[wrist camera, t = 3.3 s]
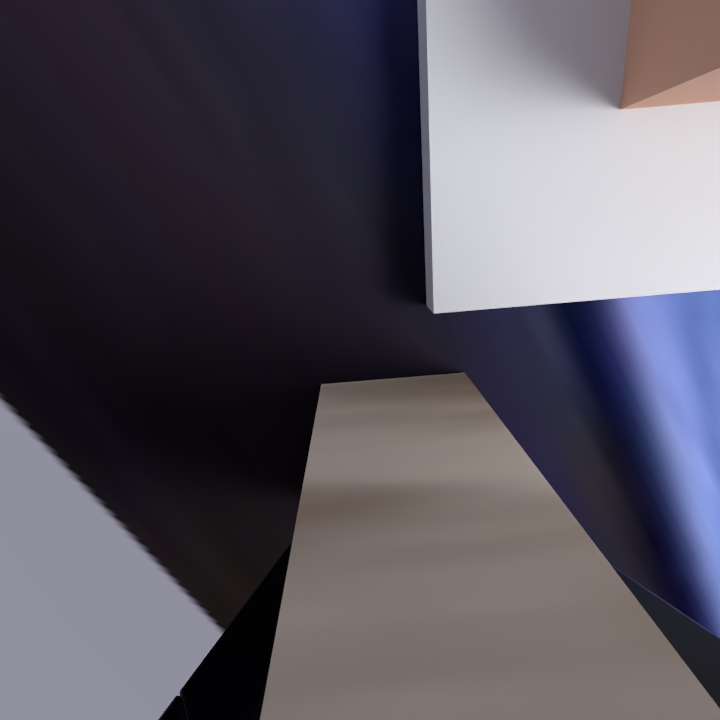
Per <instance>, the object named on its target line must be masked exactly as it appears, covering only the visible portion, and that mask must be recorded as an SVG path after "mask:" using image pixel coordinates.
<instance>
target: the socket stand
mask: <svg viewBox="0 0 720 720" xmlns="http://www.w3.org/2000/svg"><path fill="white" fill-rule="evenodd" d="M417 7H418V41H419V74H420V107H421V141H422V174H423V207H424V241H425V274H426V306H427V307H428V308H429V309H430V310H431V311H432V312H433V313H446V312H458V311H470V310H482V309H494V308H506V307H518V306H530V305H542V304H554V303H566V302H578V301H590V300H602V299H614V298H625V297H637V296H649V295H661V294H673V293H685V292H697V291H709V290H720V0H417Z"/></svg>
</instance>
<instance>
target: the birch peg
mask: <svg viewBox="0 0 720 720" xmlns="http://www.w3.org/2000/svg"><path fill="white" fill-rule="evenodd" d="M260 720H720V708H719V707H718V706H717V704H716V703H715V702H714V700H713V699H712V698H711V696H710V695H709V694H708V692H707V691H706V690H705V689H704V687H703V686H702V685H701V683H700V682H699V681H698V679H697V678H696V677H695V675H694V674H693V673H692V671H691V670H690V669H689V667H688V666H687V665H686V664H685V662H684V661H683V660H682V658H681V657H680V656H679V654H678V653H677V652H676V650H675V649H674V648H673V646H672V645H671V644H670V642H669V641H668V640H667V638H666V637H665V636H664V635H663V633H662V632H661V631H660V629H659V628H658V627H657V625H656V624H655V623H654V621H653V620H652V619H651V617H650V616H649V615H648V613H647V612H646V611H645V610H644V608H643V607H642V606H641V604H640V603H639V602H638V600H637V599H636V598H635V596H634V595H633V594H632V592H631V591H630V590H629V588H628V587H627V586H626V585H625V583H624V582H623V581H622V579H621V578H620V577H619V575H618V574H617V573H616V571H615V570H614V569H613V567H612V566H611V565H610V563H609V562H608V561H607V559H606V558H605V557H604V556H603V554H602V553H601V552H600V550H599V549H598V548H597V546H596V545H595V544H594V542H593V541H592V540H591V538H590V537H589V536H588V534H587V533H586V532H585V531H584V529H583V528H582V527H581V525H580V524H579V523H578V521H577V520H576V519H575V517H574V516H573V515H572V513H571V512H570V511H569V509H568V508H567V507H566V505H565V504H564V503H563V502H562V500H561V499H560V498H559V496H558V495H557V494H556V492H555V491H554V490H553V488H552V487H551V486H550V484H549V483H548V482H547V480H546V479H545V478H544V477H543V475H542V474H541V473H540V471H539V470H538V469H537V467H536V466H535V465H534V463H533V462H532V461H531V459H530V458H529V457H528V455H527V454H526V453H525V452H524V450H523V449H522V448H521V446H520V445H519V444H518V442H517V441H516V440H515V438H514V437H513V436H512V434H511V433H510V432H509V430H508V429H507V428H506V426H505V425H504V424H503V423H502V421H501V420H500V419H499V417H498V416H497V415H496V413H495V412H494V411H493V409H492V408H491V407H490V405H489V404H488V403H487V401H486V400H485V399H484V398H483V396H482V395H481V394H480V392H479V391H478V390H477V388H476V387H475V386H474V384H473V383H472V382H471V380H470V379H469V378H468V376H467V375H466V374H465V373H452V374H440V375H428V376H416V377H404V378H391V379H379V380H367V381H355V382H343V383H331V384H321V388H320V394H319V399H318V405H317V410H316V416H315V421H314V427H313V432H312V437H311V443H310V448H309V454H308V459H307V465H306V470H305V476H304V481H303V487H302V492H301V498H300V503H299V509H298V514H297V519H296V525H295V530H294V536H293V541H292V547H291V552H290V558H289V563H288V569H287V574H286V580H285V585H284V591H283V596H282V602H281V607H280V612H279V618H278V623H277V629H276V634H275V640H274V645H273V651H272V656H271V662H270V667H269V673H268V678H267V684H266V689H265V694H264V700H263V705H262V711H261V716H260Z"/></svg>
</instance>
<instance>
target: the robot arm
mask: <svg viewBox="0 0 720 720" xmlns="http://www.w3.org/2000/svg"><path fill="white" fill-rule="evenodd" d="M291 547H292V542H291V544H290V545H289V546H288V548H287V549H286V550H285V552H284V553H283V554H282V556H281V557H280V558H279V560H278V561H277V562H276V564H275V565H274V566H273V568H272V569H271V570H270V572H269V573H268V574H267V576H266V577H265V578H264V580H263V581H262V582H261V584H260V585H259V586H258V588H257V589H256V590H255V592H254V593H253V594H252V596H251V597H250V598H249V600H248V601H247V602H246V604H245V605H244V606H243V608H242V609H241V610H240V612H239V613H238V614H237V616H236V617H235V618H234V620H233V621H232V622H231V624H230V625H229V626H228V628H227V629H226V630H225V632H224V633H223V634H222V636H221V637H220V638H219V640H218V641H217V642H216V644H215V645H214V647H213V648H212V649H211V650H210V652H209V653H208V654H207V656H206V657H205V658H204V660H203V661H202V662H201V664H200V665H199V667H198V668H197V669H196V670H195V672H194V673H193V674H192V676H191V677H190V679H189V680H188V681H187V682H186V684H185V685H184V687H183V688H182V689H181V691H180V696H176V697H175V698H174V700H173V701H172V702H171V704H170V705H169V706H168V708H167V709H166V710H165V712H164V713H163V714H162V716H161V717H160V718H159V720H260V716H261V711H262V705H263V700H264V694H265V689H266V684H267V678H268V673H269V667H270V662H271V656H272V651H273V645H274V640H275V634H276V629H277V623H278V618H279V612H280V607H281V602H282V596H283V591H284V585H285V580H286V574H287V569H288V563H289V558H290V552H291ZM611 566H612V565H611ZM612 567H613V566H612ZM613 569H614V570H615V571H616V573H617V574H618V575H619V577H620V578H621V579H622V581H623V582H624V583H625V585H626V586H627V587H628V588H629V590H630V591H631V592H632V594H633V595H634V596H635V598H636V599H637V600H638V602H639V603H640V604H641V606H642V607H643V608H644V610H645V611H646V612H647V613H648V615H649V616H650V617H651V619H652V620H653V621H654V623H655V624H656V625H657V627H658V628H659V629H660V631H661V632H662V633H663V635H664V636H665V637H666V638H667V640H668V641H669V642H670V644H671V645H672V646H673V648H674V649H675V650H676V652H677V653H678V654H679V656H680V657H681V658H682V660H683V661H684V662H685V664H686V665H687V666H688V667H689V669H690V670H691V671H692V673H693V674H694V675H695V677H696V678H697V679H698V681H699V682H700V683H701V685H702V686H703V687H704V689H705V690H706V691H707V692H708V694H709V695H710V696H711V698H712V699H713V700H714V702H715V703H716V704H717V706H718V707H719V708H720V638H719V637H717V636H716V635H714V634H713V633H712V632H710V631H709V630H707V629H706V628H704V627H703V626H701V625H700V624H698V623H697V622H695V621H694V620H692V619H691V618H689V617H688V616H686V615H685V614H683V613H682V612H680V611H679V610H677V609H676V608H674V607H673V606H671V605H670V604H668V603H667V602H665V601H664V600H662V599H661V598H660V597H658V596H657V595H655V594H654V593H652V592H651V591H649V590H648V589H646V588H645V587H643V586H642V585H640V584H639V583H637V582H636V581H634V580H633V579H631V578H630V577H628V576H627V575H625V574H624V573H622V572H621V571H619V570H618V569H616V568H615V567H613ZM180 697H181V698H180Z"/></svg>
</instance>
